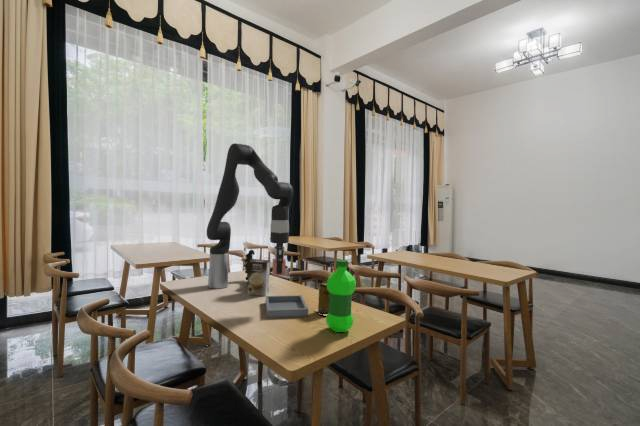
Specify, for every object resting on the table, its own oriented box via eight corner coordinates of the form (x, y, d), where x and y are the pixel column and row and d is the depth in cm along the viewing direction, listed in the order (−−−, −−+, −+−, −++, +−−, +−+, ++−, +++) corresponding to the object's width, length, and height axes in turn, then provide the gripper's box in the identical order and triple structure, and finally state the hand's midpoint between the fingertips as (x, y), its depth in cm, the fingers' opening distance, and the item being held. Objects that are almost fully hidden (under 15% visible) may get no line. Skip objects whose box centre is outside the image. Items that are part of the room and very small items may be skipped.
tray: (267, 318, 119) (267, 310, 119) (265, 302, 136) (265, 296, 136) (308, 316, 122) (308, 309, 122) (301, 301, 140) (301, 295, 140)
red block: (272, 275, 124) (273, 260, 124) (272, 273, 129) (272, 258, 129) (285, 275, 125) (285, 260, 125) (284, 272, 130) (284, 258, 130)
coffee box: (246, 294, 147) (247, 261, 146) (251, 291, 153) (252, 258, 152) (265, 296, 146) (266, 262, 145) (269, 292, 152) (270, 259, 152)
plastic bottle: (359, 330, 110) (362, 261, 109) (340, 339, 103) (343, 264, 102) (338, 322, 117) (341, 256, 116) (319, 329, 110) (321, 259, 109)
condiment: (329, 308, 132) (330, 280, 132) (338, 315, 124) (340, 286, 124) (313, 310, 129) (314, 282, 128) (322, 318, 121) (323, 287, 121)
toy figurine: (240, 284, 171) (257, 291, 150) (240, 249, 172) (257, 252, 151) (256, 282, 176) (275, 289, 155) (256, 248, 177) (275, 251, 156)
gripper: (270, 229, 133) (269, 268, 134) (271, 232, 119) (270, 276, 119) (287, 229, 134) (286, 268, 135) (290, 232, 120) (289, 276, 121)
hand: (278, 272), depth 127 cm, fingers closed on red block, 5 cm apart
